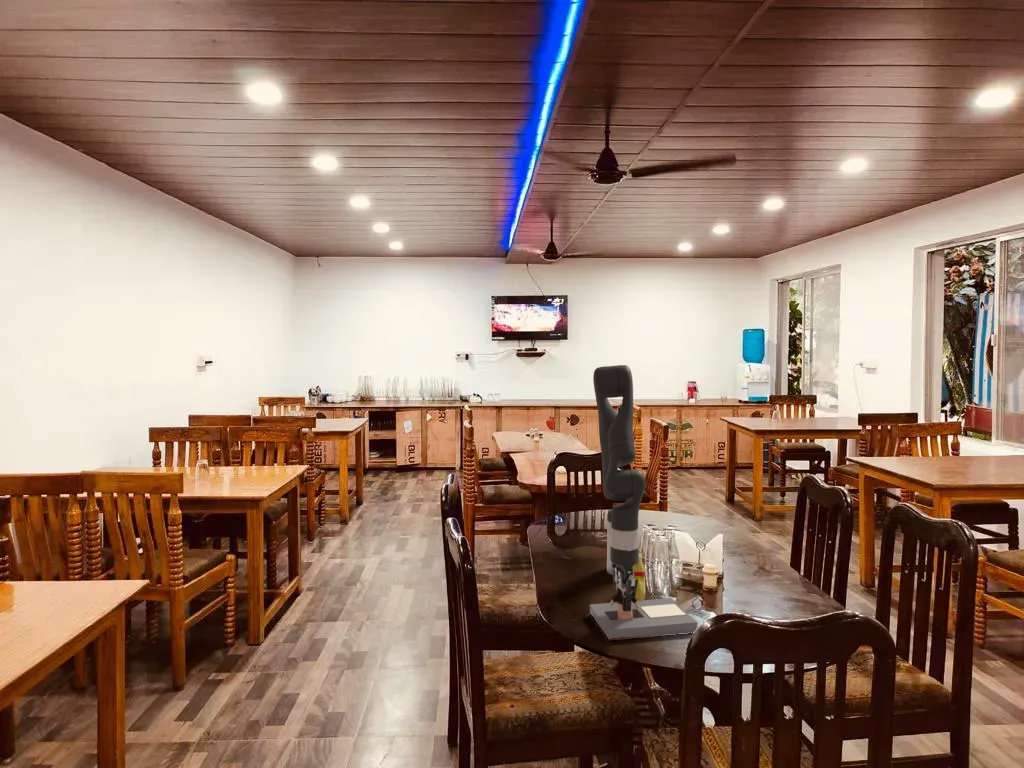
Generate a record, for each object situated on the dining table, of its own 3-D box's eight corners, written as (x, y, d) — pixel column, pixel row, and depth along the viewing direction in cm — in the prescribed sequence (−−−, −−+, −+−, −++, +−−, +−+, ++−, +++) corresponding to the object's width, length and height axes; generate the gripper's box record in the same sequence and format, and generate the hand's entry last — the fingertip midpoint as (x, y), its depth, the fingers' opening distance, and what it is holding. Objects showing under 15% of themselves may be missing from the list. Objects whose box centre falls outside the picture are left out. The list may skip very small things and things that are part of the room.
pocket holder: (589, 615, 178) (589, 603, 178) (670, 608, 182) (671, 597, 182) (608, 641, 162) (608, 629, 162) (696, 633, 167) (697, 621, 167)
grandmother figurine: (636, 622, 174) (637, 576, 173) (639, 628, 170) (640, 581, 169) (608, 622, 173) (608, 576, 173) (610, 629, 170) (611, 582, 169)
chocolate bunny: (642, 588, 197) (643, 540, 196) (647, 603, 186) (647, 552, 185) (620, 587, 198) (620, 540, 197) (623, 602, 187) (623, 551, 186)
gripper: (602, 537, 176) (602, 598, 178) (620, 553, 163) (619, 620, 164) (628, 535, 178) (627, 596, 179) (648, 552, 164) (647, 617, 165)
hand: (624, 607), depth 171 cm, fingers open, 3 cm apart
